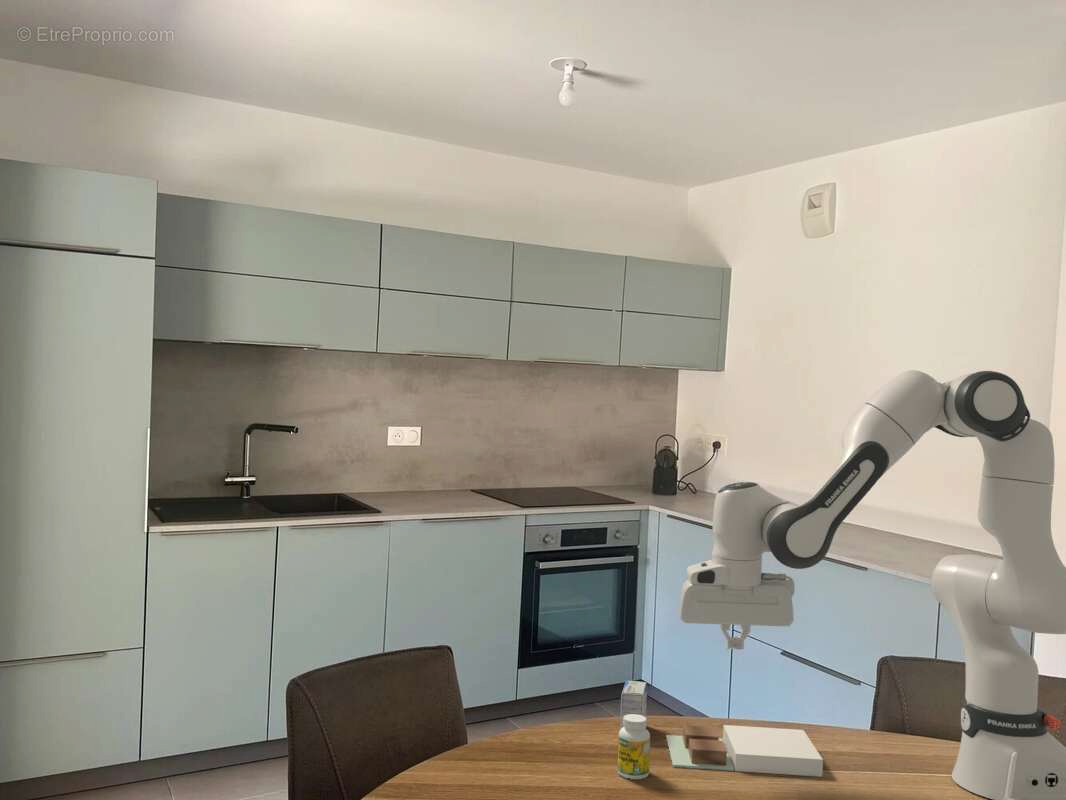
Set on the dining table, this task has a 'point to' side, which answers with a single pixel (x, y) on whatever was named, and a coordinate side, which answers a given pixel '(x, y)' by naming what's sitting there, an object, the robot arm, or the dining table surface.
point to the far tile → (698, 733)
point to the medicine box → (633, 699)
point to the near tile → (707, 752)
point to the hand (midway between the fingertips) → (734, 648)
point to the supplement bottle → (634, 747)
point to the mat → (682, 756)
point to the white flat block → (772, 751)
